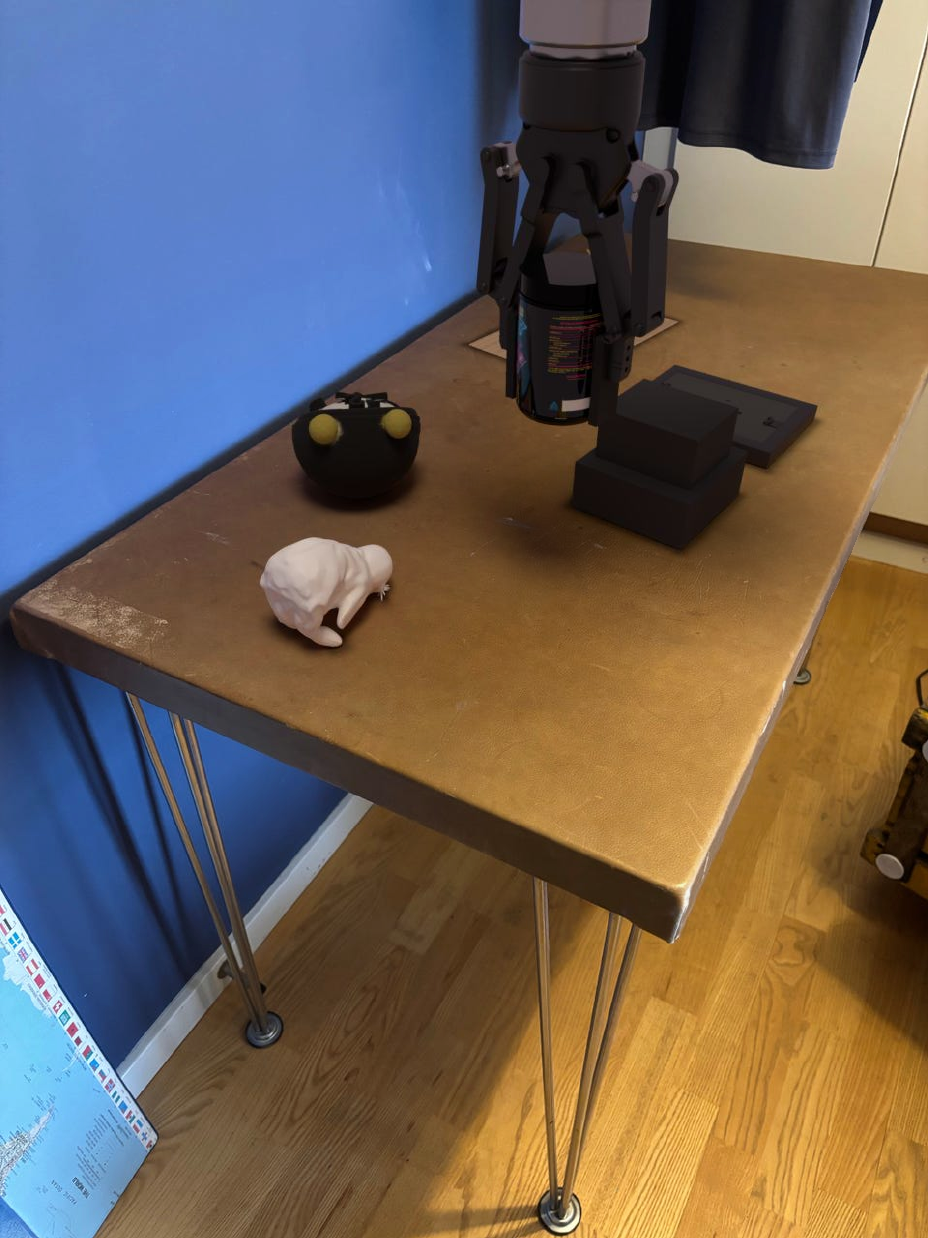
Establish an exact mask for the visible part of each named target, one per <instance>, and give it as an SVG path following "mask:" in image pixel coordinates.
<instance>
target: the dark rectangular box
mask: <svg viewBox="0 0 928 1238" xmlns="http://www.w3.org/2000/svg"><path fill="white" fill-rule="evenodd" d="M595 454H596V446H595V447H594V448H592V449H590V451H588V452H587V453H585V454H584V455H582V456H581V457H580V458H578V459H577V460H576V461H575V462H574V473H573V474H574V475H573V486H572V498H571V507H573V508H575V509H578V510H579V511H583V512H585V513H587V514H590V515H593V516H594V517H598V518H600V519H602V520H604V521H607V522H610V523H613V524H614V525H617V526H619V527H622V528H625V529H627V530H629V531H632V532H635V533H637V534H639V535H642V536H645V537H648V538H649V539H652V540H654V541H657V542H659V543H662V544H664V545H667V546H669V547H672V548H674V549H677V550H680V551H682V550H683V549H684V548H685V547H686V546H687V545H688V544H689V543H690V542H691V541H692V540H693V539H694V538H695V537H696V536H698V534H700V532H702V531H703V530H704V529H705V528H706V527H707V526H708V525H709V524H710V523H711V522H712V521H713V520H714V519H715V518H716V517H717V516H719V514H720V513H722V512H723V511H724V510H726V508H727V507H728V506H729V505H730V504H731V503H732V502H733V501H734V500H736V499H737V498H738V496H739V495H740V490H741V486H742V482H743V476H744V471H745V467H746V463H747V462H746V459H747V454H748V451H745V450H742V449H739V448H736V447H733V446H731V448H730V453H729V456H728V457H727V458H726V459H724V460H723V461H722V462H721V463H720V464H719V465H718V466H717V467H715V468H714V469H713V470H712V471H711V472H710V473H709V474H707V475H706V476H705V477H704V478H703V479H702V480H701V481H699V482H698V483H697V484H696V485H695V486H694V487H693V488H691V489H690V490H687V489H684V488H681V487H679V486H676V485H673V484H671V483H668V482H665V481H662V480H660V479H657V478H654V477H651V476H649V475H646V474H643V473H641V472H638V471H635V470H632V469H630V468H627V467H624V466H621V465H619V464H616V463H613V462H611V461H608V460H605V459H602V458H600V457H597V456H595Z"/></svg>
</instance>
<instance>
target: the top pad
mask: <svg viewBox="0 0 928 1238" xmlns="http://www.w3.org/2000/svg"><path fill="white" fill-rule="evenodd" d="M738 410H739V408H738V407H734V406H731V405H728V404H725V403H721V402H718V401H715V400H712V399H708V398H705V397H702V396H699V395H695V394H692V393H689V392H686V391H683V390H679V389H676V388H673V387H670V386H666V385H663V384H660V383H657V382H653V380H650V379H647V378H642V379H641V380H639V381H638V382H637V383H635V384H634V385H631V387H629V388H628V389H626V390H624V391H623V392H622V393H620V394H618V400H617V409H616V414H615V415H613V416H612V417H611V418H609V419H608V420H606V421H605V422H603V423H602V424H601V425H599V426H598V427H597V435H596V444H595V447H596V454H595V456H597V457H600V458H602V459H605V460H608V461H611V462H613V463H616V464H619V465H621V466H624V467H627V468H630V469H632V470H635V471H638V472H641V473H643V474H646V475H649V476H651V477H654V478H657V479H660V480H662V481H665V482H668V483H671V484H673V485H676V486H679V487H681V488H684V489H687V490H690V489H691V488H693V487H694V486H695V485H696V484H697V483H698V482H699V481H701V480H702V479H703V478H704V477H705V476H706V475H707V474H709V473H710V472H711V471H712V470H713V469H714V468H715V467H717V466H718V465H719V464H720V463H721V462H722V461H723V460H724V459H726V458H727V457H728V456H729V453H730V448H731V443H732V439H733V434H734V429H735V424H736V420H737V415H738Z"/></svg>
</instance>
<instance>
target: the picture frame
mask: <svg viewBox="0 0 928 1238" xmlns="http://www.w3.org/2000/svg"><path fill="white" fill-rule="evenodd" d="M652 381H653V382H657V383H660V384H663V385H666V386H670V387H673V388H676V389H679V390H683V391H686V392H689V393H692V394H695V395H699V396H702V397H705V398H708V399H712V400H715V401H718V402H721V403H725V404H728V405H731V406H734V407H738V408H739V410H738V415H737V420H736V424H735V429H734V434H733V439H732V443H731V446H733V447H736V448H739V449H742V450H745V451H748V454H747V459H746V463H747V464H751V465H753V466H757V467H760V468H763V469H768V468H769V467H770V466H771V465H772V464H773V463H774V462H775V461H776V460H777V459H778V458H779V457H780V456H781V454H783V453H784V452H785V451H786V450H787V449H788V448H789V446H791V445H792V444H793V443H794V442H795V441H796V439H798V438H799V437H800V435H801V434H803V432H804V431H806V430H807V428H809V426H810V425H811V424H812V423H813V422H814V421H815V417H816V413H817V410H818V407H819V405H818V404H814V403H812V402H811V403H810V402H807V401H803V400H800V399H796V398H793V397H789V396H786V395H782V394H779V393H775V392H772V391H769V390H766V389H761V388H758V387H754V386H751V385H748V384H744V383H741V382H738V381H735V380H730V379H728V378H724V377H720V376H716V375H714V374H709V373H706V372H703V371H699V370H696V369H692V368H689V367H685V366H681V365H678V364H673V365H672V366H671V367H670V368H668V369H667V370H665V371H663V372H662V373H661V374H660V375H658V376H657V377H656V378H654V379H653V380H652Z"/></svg>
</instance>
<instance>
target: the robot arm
mask: <svg viewBox="0 0 928 1238" xmlns="http://www.w3.org/2000/svg"><path fill="white" fill-rule="evenodd" d="M519 5H520V9H519V10H520V11H519V33H518V35H519V37H520V38H521V40H522V41H523V42H525V43H526V44H528V45H529V49H527V50H525V51H523V53H522V55H521V56H520V57H519V61H518V96H517V97H518V99H517V113H518V116H519V118H520V120H521V121H522V126H521V129H520V132H519V135H518V137H517V139H516V142H512V141H510V140H504V141H500V142H498V143H494V144H491V145H488V146H485V147H483V148H482V149H481V150H480V152H479V160H480V165H481V172H482V177H483V183H484V189H483V190H484V191H483V201H482V202H483V203H482V213H481V225H480V237H479V248H478V259H477V269H476V270H477V272H476V282H475V283H476V290H477V292H478V294H480V295H481V296H487V295H488V296H489V297H490V298H492V299H493V300H494V301H495V303H496V305H497V307H498V308H499V318H498V319H499V320H498V321H499V322H498V323H499V324H498V326H499V327H498V328H499V329H498V331H499V333H500V334H499V343H500V347H501V349H504V350H506V359H505V393H504V394H505V396H504V397H506V398H507V399H508V398H509V399H510V400H511V399H512V400H514V399H516V369H517V338H518V306H519V294H518V287H519V266H520V264H525V263H527V262H529V261H531V260H534V259H536V258H538V257H540V256H542V255H543V254H545V251H546V248H547V245H548V242H549V240H550V237H551V235H552V231H553V229H554V226H555V224H556V221H557V219H558V217H559V216H560V215H561V214H565V215H567V216H568V217H571V218H573V219H574V220H578V223H579V227H580V232H581V234H582V236H583V237H585V238H586V240H587V244H588V250H589V251H590V254H591V259H592V264H593V269H594V274H595V279H596V282H598V294H599V298H600V303H601V308H602V313H603V318H604V323H605V328H606V332H604V333H602V334H601V335H599V336H597V337H596V338H595V347H594V359H593V370H592V382H591V393H590V405H589V416H588V421H587V425H589V426H592V427H595V428H598V426H599V425H601V424H602V423H603V422H605V421H606V420H608V419H609V418H611V417H612V416H613V415H615V414H616V409H617V400H618V396H619V390H620V383H621V382H623V381H624V380H626V379H627V378H629V376H630V374H631V372H632V366H633V357H634V347H635V346H634V341H635V336H636V337H638V338H639V337H643V336H645V335H646V334H648V333H650V332H651V331H653V330H654V329H656V328H658V327H659V326H661V325H662V324H663V323H664V319H665V318H666V297H667V296H666V291H667V270H668V269H667V267H668V266H667V265H668V243H669V242H668V241H669V216H670V207H671V204H672V202H673V199H674V196H675V193H676V190H677V187H678V185H679V181H680V175H679V172H678V170H677V169H675V168H674V167H666V168H664V169H660V168H657V167H655V166H653V165H650V164H649V163H647V162H645V161H642V160H641V156H640V151H639V149H638V145H637V139H636V133H637V132H636V131H637V127H638V124H639V120H640V116H641V110H642V98H643V90H644V89H643V88H644V81H645V70H646V58H645V57H644V55H643V52H641V51H640V50H637V45H639V44H642V43H644V41H646V40H647V38H648V36H649V28H650V27H649V26H650V19H651V18H650V16H651V7H652V0H520V4H519ZM521 171H523V173H524V175H525V178H526V180H527V182H528V187H527V190H526V194H525V197H524V200H523V203H522V206H521V209H520V212H519V213H520V214H519V215H520V217H521V221H520V224H519V227H518V229H517V233H516V236H515V230H516V222H517V221H516V220H517V212H518V201H519V193H520V174H521ZM629 183H630V185H631V187H632V188H631V189H632V191H631V192H632V193H630V201H631V202H633V203H634V204H635V205H634V209H633V214H632V222H631V223H632V224H631V225H632V226H631V266H630V260H629V256H628V250H627V245H626V240H625V239H626V238H625V233H624V228H623V227H624V223H625V211H624V205H623V199H622V195H621V193H622V192H623V190H624V189H625V188H626V186H627V185H628V184H629ZM600 214H602V216H600ZM514 238H515V240H514Z"/></svg>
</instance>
